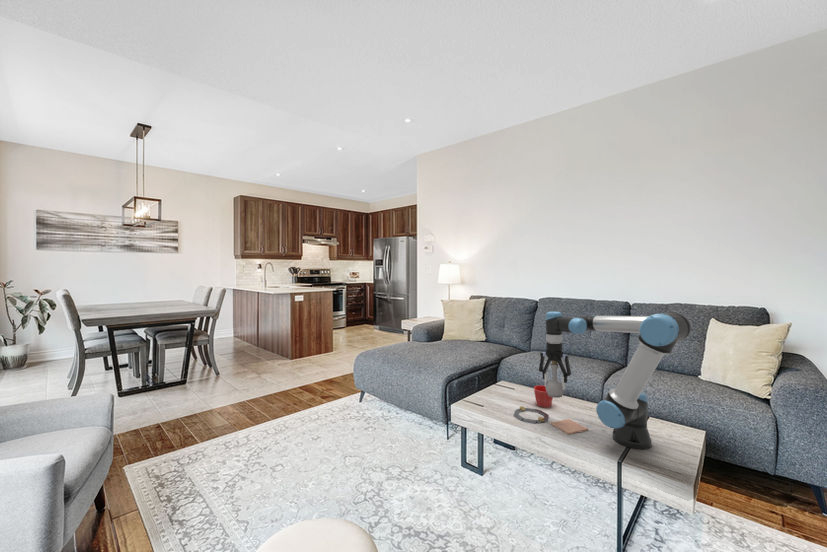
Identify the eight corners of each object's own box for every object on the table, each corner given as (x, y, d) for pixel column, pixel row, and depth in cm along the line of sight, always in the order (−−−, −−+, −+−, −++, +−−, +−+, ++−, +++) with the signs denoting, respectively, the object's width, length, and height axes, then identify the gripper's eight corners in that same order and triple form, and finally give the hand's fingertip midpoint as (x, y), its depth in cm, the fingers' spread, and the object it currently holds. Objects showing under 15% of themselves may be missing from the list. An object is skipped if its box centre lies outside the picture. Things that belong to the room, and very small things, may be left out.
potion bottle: (542, 393, 183) (542, 358, 183) (559, 392, 183) (558, 357, 183) (550, 398, 174) (550, 362, 174) (568, 398, 174) (567, 361, 175)
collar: (555, 420, 182) (555, 416, 182) (528, 425, 176) (528, 421, 176) (533, 408, 198) (533, 404, 198) (508, 412, 192) (508, 408, 192)
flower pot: (557, 408, 197) (557, 391, 197) (537, 408, 198) (537, 391, 197) (550, 401, 208) (550, 385, 208) (531, 401, 208) (531, 385, 208)
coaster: (587, 430, 171) (587, 428, 171) (568, 434, 167) (568, 432, 167) (569, 420, 182) (569, 418, 182) (550, 424, 178) (550, 422, 178)
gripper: (578, 343, 175) (578, 389, 175) (536, 339, 188) (537, 382, 188) (573, 345, 169) (574, 393, 169) (531, 341, 182) (532, 385, 182)
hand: (555, 387), depth 179 cm, fingers closed on potion bottle, 8 cm apart
